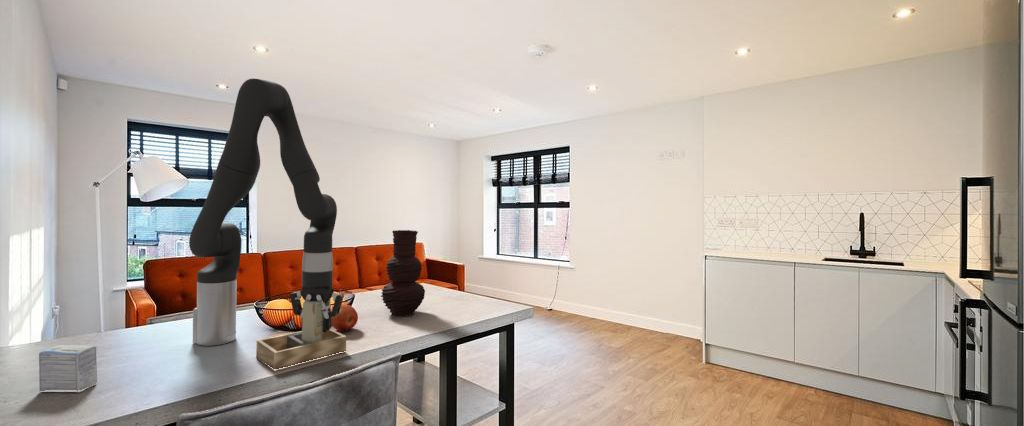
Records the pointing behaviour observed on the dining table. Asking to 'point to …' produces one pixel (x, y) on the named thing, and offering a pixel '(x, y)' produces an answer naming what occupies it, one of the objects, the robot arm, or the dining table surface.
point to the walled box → (297, 349)
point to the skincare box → (313, 323)
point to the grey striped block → (67, 367)
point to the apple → (345, 318)
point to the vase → (403, 276)
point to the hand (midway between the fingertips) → (316, 330)
